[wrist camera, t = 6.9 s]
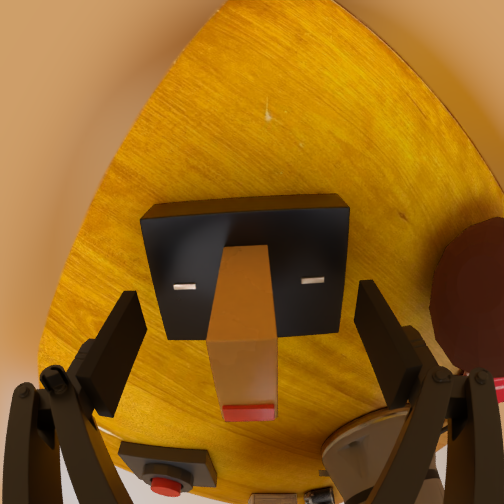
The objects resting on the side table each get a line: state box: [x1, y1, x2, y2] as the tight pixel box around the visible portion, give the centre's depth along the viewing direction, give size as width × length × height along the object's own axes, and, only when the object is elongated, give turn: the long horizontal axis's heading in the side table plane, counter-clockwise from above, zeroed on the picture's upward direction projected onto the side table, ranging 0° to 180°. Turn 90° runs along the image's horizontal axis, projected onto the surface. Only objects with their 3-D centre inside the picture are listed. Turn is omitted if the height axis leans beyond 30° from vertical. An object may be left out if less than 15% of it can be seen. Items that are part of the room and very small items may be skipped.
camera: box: [304, 487, 335, 504], centre depth 40 cm, size 5×10×4 cm, turn 14°
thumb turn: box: [206, 245, 278, 422], centre depth 15 cm, size 5×2×8 cm, turn 3°
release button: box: [151, 477, 181, 497], centre depth 31 cm, size 4×4×2 cm
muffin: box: [429, 217, 504, 378], centre depth 17 cm, size 12×11×10 cm
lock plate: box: [140, 194, 350, 340], centre depth 20 cm, size 12×9×3 cm
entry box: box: [118, 442, 217, 492], centre depth 33 cm, size 12×9×4 cm
